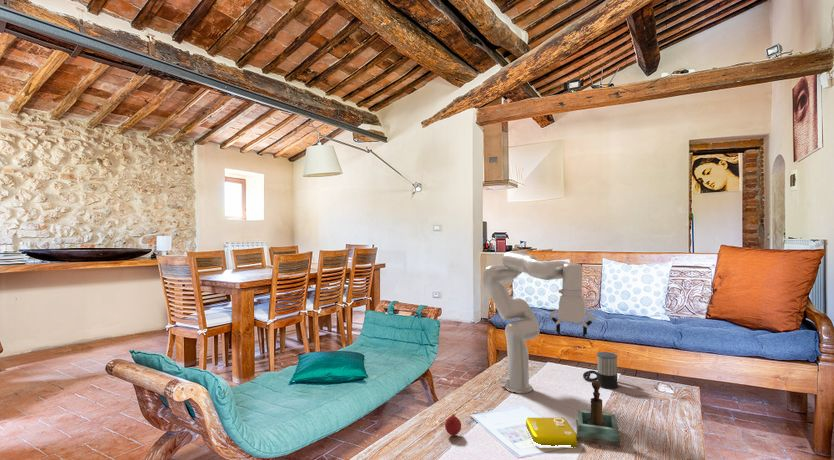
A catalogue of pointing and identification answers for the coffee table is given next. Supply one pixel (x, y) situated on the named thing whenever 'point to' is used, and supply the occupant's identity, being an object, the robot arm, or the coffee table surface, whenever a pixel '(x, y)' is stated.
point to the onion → (453, 425)
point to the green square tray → (598, 430)
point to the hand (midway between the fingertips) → (571, 335)
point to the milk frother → (605, 370)
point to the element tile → (551, 431)
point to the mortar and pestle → (596, 406)
